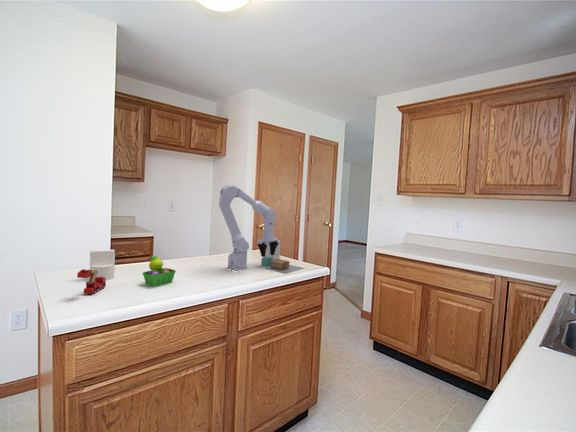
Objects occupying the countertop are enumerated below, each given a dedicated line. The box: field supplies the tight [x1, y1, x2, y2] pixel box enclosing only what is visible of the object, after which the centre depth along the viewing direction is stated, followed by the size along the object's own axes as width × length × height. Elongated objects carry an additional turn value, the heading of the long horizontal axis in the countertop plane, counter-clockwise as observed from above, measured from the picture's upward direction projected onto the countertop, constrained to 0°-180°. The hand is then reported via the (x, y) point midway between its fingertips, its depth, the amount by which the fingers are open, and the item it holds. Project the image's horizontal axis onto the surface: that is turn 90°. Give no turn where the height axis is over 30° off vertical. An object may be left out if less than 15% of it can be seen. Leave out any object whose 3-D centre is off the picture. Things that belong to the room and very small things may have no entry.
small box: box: [265, 239, 281, 260], centre depth 181 cm, size 8×6×13 cm
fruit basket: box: [142, 255, 177, 287], centre depth 128 cm, size 11×9×11 cm
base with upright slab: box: [89, 249, 116, 281], centre depth 131 cm, size 9×9×12 cm
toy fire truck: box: [76, 269, 107, 295], centre depth 113 cm, size 3×14×10 cm, turn 5°
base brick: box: [270, 258, 290, 271], centre depth 162 cm, size 7×7×4 cm
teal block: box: [260, 257, 273, 268], centre depth 167 cm, size 4×4×5 cm
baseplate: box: [264, 264, 306, 275], centre depth 162 cm, size 18×14×1 cm
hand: (267, 255), depth 167 cm, fingers open, 7 cm apart
